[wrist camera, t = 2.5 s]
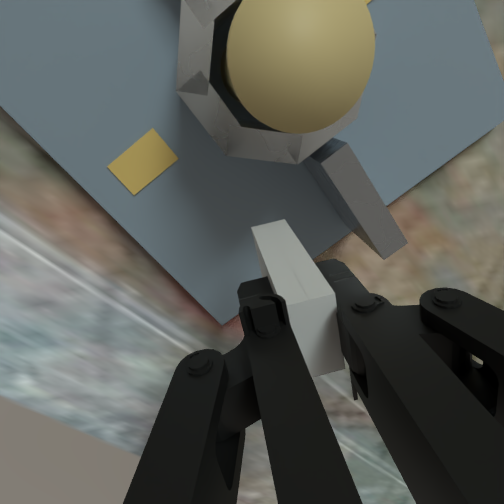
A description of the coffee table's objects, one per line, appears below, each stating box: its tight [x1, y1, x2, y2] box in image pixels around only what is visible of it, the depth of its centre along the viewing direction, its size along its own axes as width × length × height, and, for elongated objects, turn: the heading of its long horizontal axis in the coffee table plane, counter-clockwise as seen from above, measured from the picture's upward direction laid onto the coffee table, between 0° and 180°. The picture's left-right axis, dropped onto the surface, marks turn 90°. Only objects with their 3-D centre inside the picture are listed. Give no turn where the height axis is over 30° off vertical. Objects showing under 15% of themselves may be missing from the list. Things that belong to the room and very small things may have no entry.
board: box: [0, 0, 504, 325], centre depth 16 cm, size 22×22×10 cm
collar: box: [176, 0, 408, 260], centre depth 17 cm, size 17×7×5 cm, turn 37°
